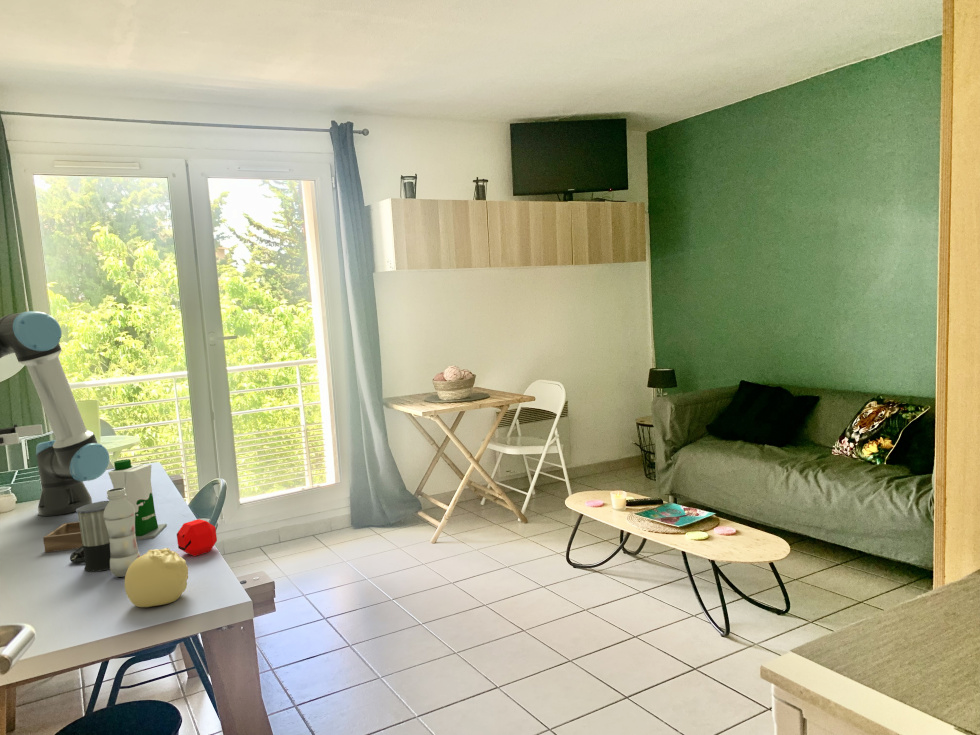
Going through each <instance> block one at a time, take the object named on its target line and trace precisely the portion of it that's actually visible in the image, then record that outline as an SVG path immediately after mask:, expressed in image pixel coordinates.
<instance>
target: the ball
mask: <svg viewBox="0 0 980 735" xmlns="http://www.w3.org/2000/svg"><path fill="white" fill-rule="evenodd" d="M176 540H177V545H178V546H177V547H178V549H179V550H181V551H183V553H186V554H187V553H188V554H187V555H191V556H193V557H197V555H198V556H201V555H204V554H206V553H209V552H211V551H212V549H213V547H214V546H215V544H216V543H217V541H218V537H217V529H216V526H215V525H214V524H211V523H210V522H209V521H207V520H205V519H204V520H203V519H200V518H198V519H197V518H196V519H195V520H192V521H188V522H184V523H183V524H182V525H181V527H180V528H179V530H178V532H177V533H176ZM203 553H204V554H203ZM200 554H201V555H200Z"/></svg>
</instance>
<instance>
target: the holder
mask: <svg viewBox="0 0 980 735" xmlns="http://www.w3.org/2000/svg"><path fill="white" fill-rule="evenodd" d="M42 539H43V547H44V552H45V554H47V553H52V552H59V551H60V552H61V551H68V550H77V549H78V548H80V547H82V546H83V543H82V538H81V531H80V524H79V521H73V522H66V523H65V522H64V523H62V524H61V525H60V526H58V527H57V528H56V529H54V530H52V531H51V532H50V533H48V534H47V535H45V536H43V537H42Z"/></svg>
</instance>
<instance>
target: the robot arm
mask: <svg viewBox="0 0 980 735" xmlns="http://www.w3.org/2000/svg"><path fill="white" fill-rule="evenodd" d="M62 333H63V332H62V328H61V326H60V324H59V321H57V319H56V318H55V317H53V316H52V315H51V314H48V313H46V312H42V311H37V310H36V311H34V310H29V311H23V312H17V313H10V314H7V315H4V316H2V317H0V359H2V358H3V357H7V356H8V355H11V354H15V356H16V360H17V361H18V363H19V364H21V365H24V366H26V368H27V371H28V373H29V376H30V377H31V378H30V379H31V381H32V384H33V385H34V388H35V391H36V393H37V396H38V397H39V400H40V403H41V406H42V407H43V410H44V412H45V415H46V418H47V420H48V423H49V425H50V428H51V431H52V433H53V435H54V438H55V439H54V440H48V441H42V442H40V443H37V444H36V446H35V456H36V461H37V466H38V474H39V480H40V487H41V493H40V497H39V500H38V507H37V510H38V515H39V516H42V517H52V516H53V517H54V516H59V515H65V514H70V513H74V512H76V509H78V508H80V507H82V506H84V505H87V504H91V503H93V500H92V496H91V494H90V493H89V491H88V489H87V487H86V485H85V483H84V482H89V481H90V482H91V481H95V480H97V479H99V478H100V477H101V476H102V475H103V474H105V472H106V471H107V468H108V467H109V464H110V454H109V451H108V449H107V448H106V447H105V446H103V445H102V444H101V443H99V442H98V441H97V438H96V435H95V433H94V431H91V430H89V429H87V427H86V425H85V422H84V419H83V417H82V415H81V413H80V410H79V407H78V404H77V401H76V400H75V399H76V398H75V397H74V393H73V392H72V388H71V387H70V384H69V382H68V379H67V377H66V374H65V370H64V369H63V366H62V364H61V361H60V358H59V356H60V354H61V353H62V347H61V345H60V340H61V338H62ZM38 435H40V436H41V435H44V429H43V425H42V424H41V423H40V424H32V425H24V426H18V424H17V423H16V424H13V426H11V427H5V428H4V427H3V428H0V446H1V447H3V446H10V445H19V444H21V443H20V438H23V437H29V436H38Z"/></svg>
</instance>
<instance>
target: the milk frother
mask: <svg viewBox="0 0 980 735" xmlns="http://www.w3.org/2000/svg"><path fill="white" fill-rule="evenodd" d="M108 503H109V500H103V501H97V502H92V503H91V504H87V505H84V506H82V507H80V508H78V509H76V511H75V512H77V517H78V522H79V524H80V531H81V538H82V543H83V546H82V547H80V548H78V549H74V551H73V552H72V553H71V554H70V556H69V560H70V562H71V563H74V564H84V569H83V570H84V571H86V572H91V573H94V572H96V571H97V572H102V571H108V570H110V541H109V536H108V531H107V527H106V524H105V521H104V517H103V514H104V510H105V508H106V506H107V504H108Z"/></svg>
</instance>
